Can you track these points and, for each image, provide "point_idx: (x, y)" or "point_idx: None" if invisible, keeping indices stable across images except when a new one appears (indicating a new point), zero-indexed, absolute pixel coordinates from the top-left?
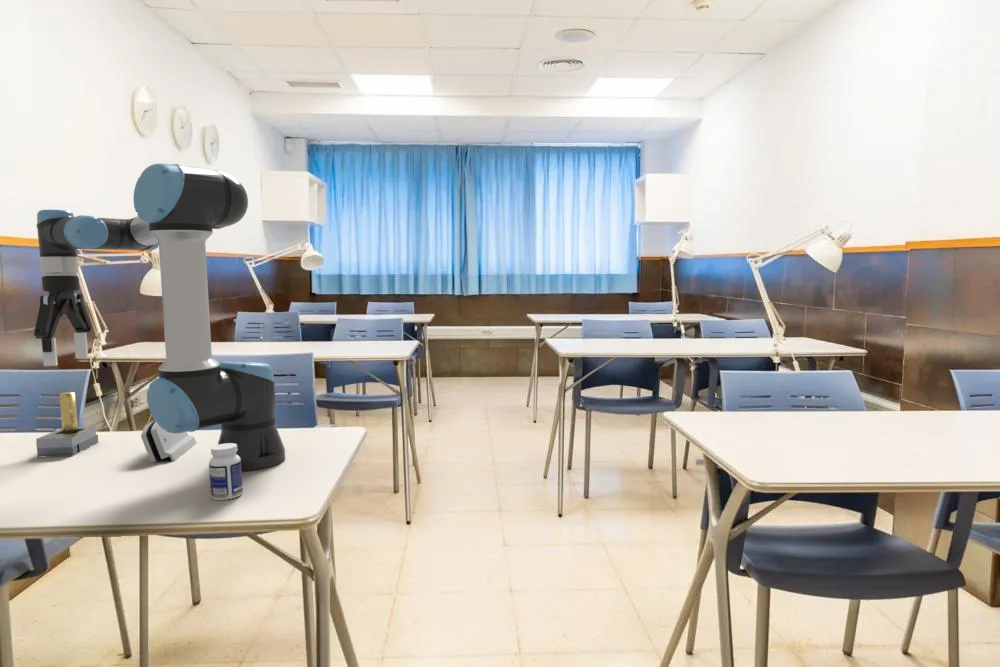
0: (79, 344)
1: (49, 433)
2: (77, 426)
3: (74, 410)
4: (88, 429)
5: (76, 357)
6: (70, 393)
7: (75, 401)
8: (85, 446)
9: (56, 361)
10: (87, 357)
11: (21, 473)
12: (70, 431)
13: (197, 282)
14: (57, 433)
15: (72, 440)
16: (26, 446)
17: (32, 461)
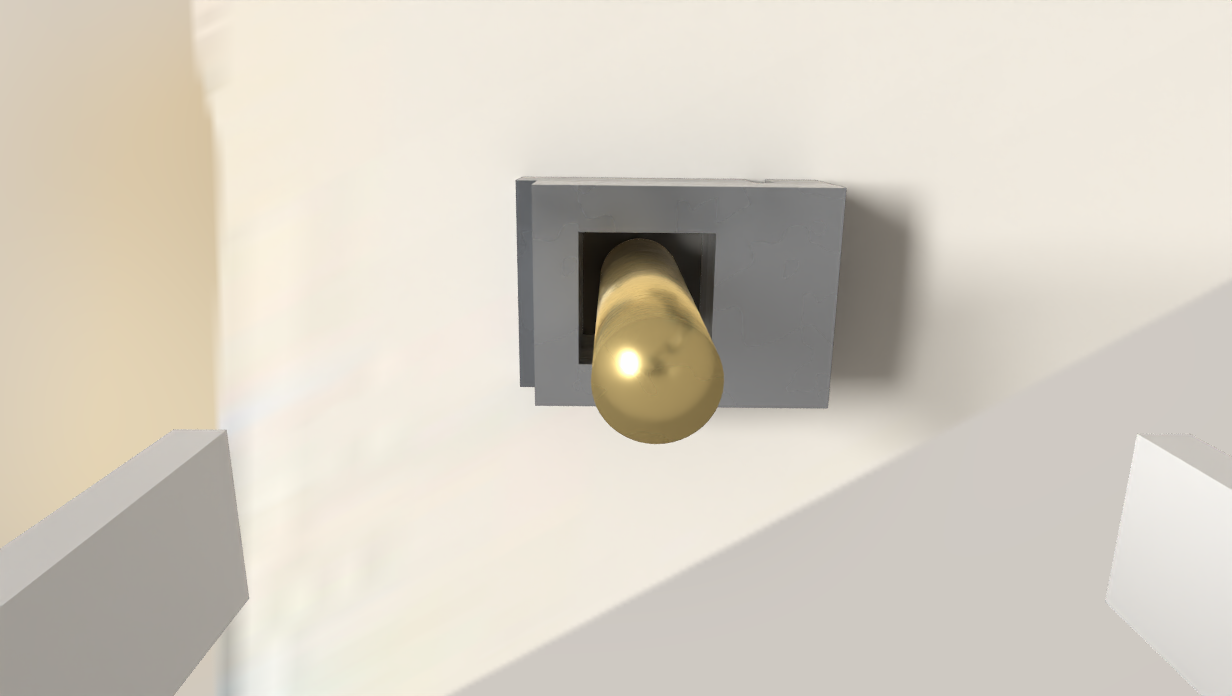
0: (88, 688)
1: None
2: (634, 260)
3: (666, 284)
4: (605, 197)
5: (238, 593)
6: (682, 341)
7: (643, 298)
8: (676, 179)
9: (1213, 462)
10: (194, 432)
11: (1121, 280)
12: (683, 279)
13: None
14: None
15: (835, 186)
16: (549, 558)
17: (885, 353)
